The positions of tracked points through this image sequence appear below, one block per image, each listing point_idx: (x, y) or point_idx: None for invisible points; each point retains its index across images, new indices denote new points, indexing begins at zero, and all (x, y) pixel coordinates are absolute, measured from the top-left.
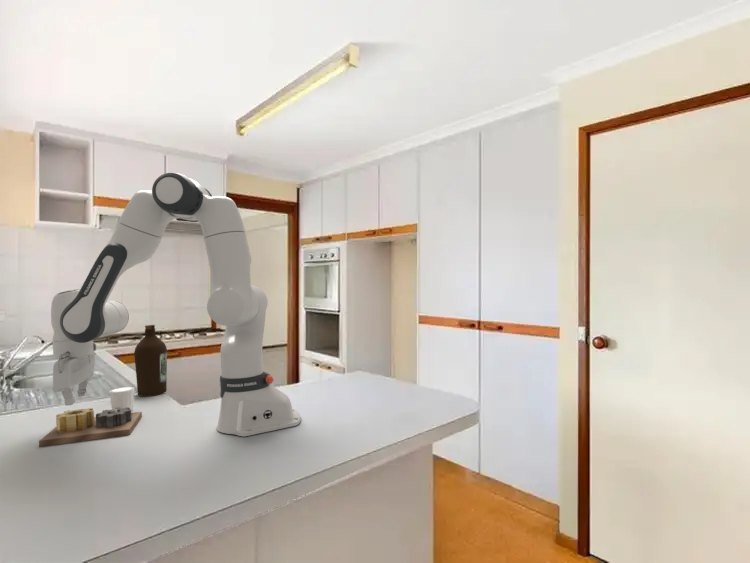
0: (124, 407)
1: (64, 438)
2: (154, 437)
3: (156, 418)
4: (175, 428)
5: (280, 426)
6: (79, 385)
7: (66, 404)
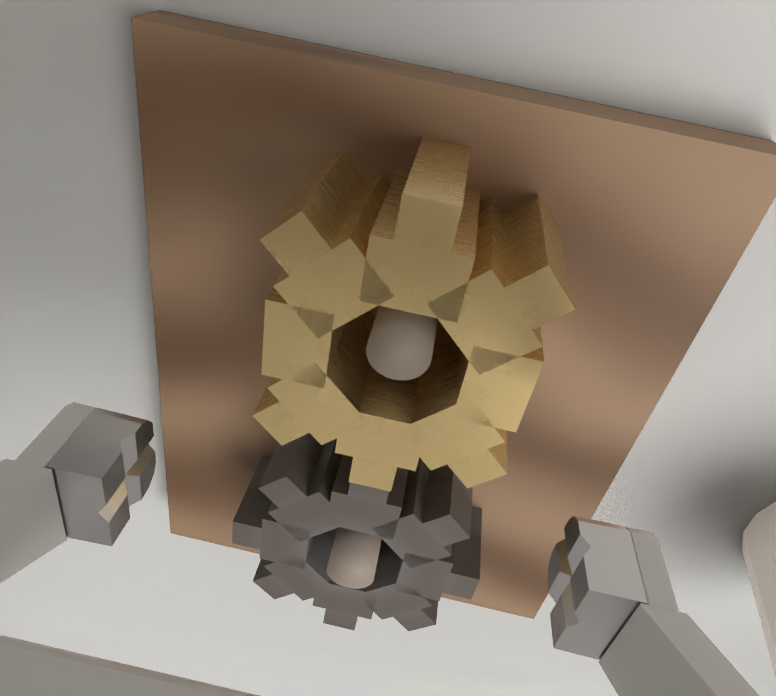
0: (754, 579)
1: (150, 220)
2: (99, 566)
3: None
4: (198, 633)
5: None
6: (687, 686)
7: (71, 416)
